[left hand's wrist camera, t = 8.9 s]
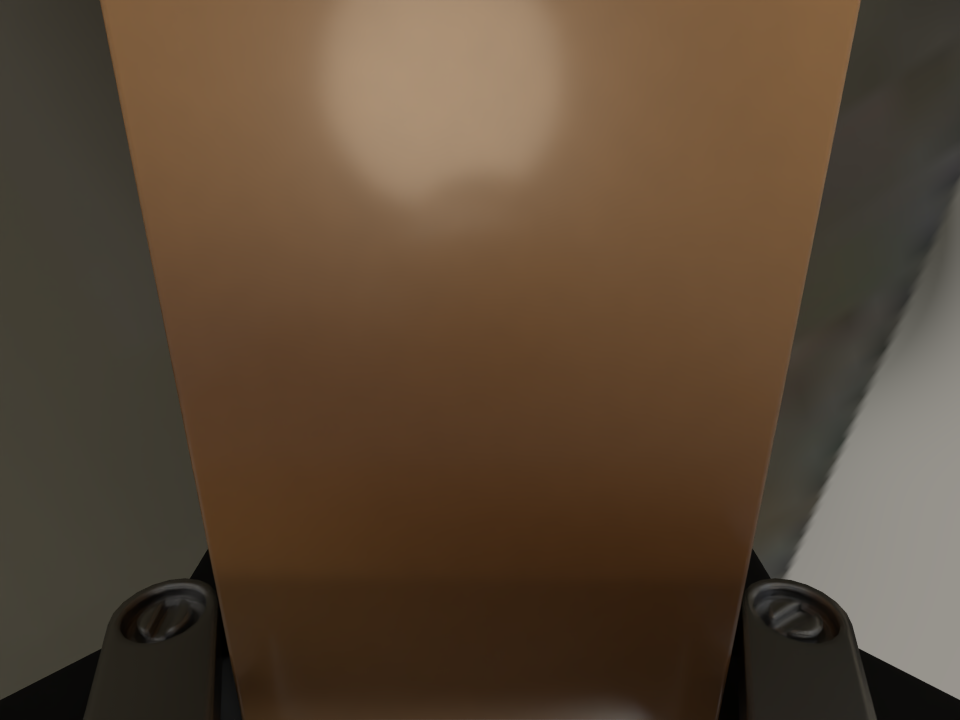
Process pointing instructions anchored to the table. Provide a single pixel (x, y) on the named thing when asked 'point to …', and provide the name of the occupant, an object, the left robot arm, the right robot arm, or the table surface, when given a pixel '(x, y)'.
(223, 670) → the left robot arm
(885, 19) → the table surface
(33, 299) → the table surface
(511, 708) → the bar
